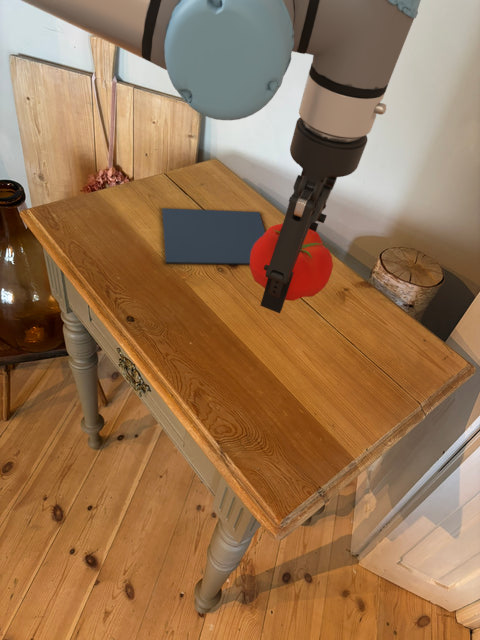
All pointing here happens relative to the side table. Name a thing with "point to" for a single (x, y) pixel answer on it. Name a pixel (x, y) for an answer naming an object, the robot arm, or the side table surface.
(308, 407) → the side table surface
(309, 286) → the tomato
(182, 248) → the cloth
